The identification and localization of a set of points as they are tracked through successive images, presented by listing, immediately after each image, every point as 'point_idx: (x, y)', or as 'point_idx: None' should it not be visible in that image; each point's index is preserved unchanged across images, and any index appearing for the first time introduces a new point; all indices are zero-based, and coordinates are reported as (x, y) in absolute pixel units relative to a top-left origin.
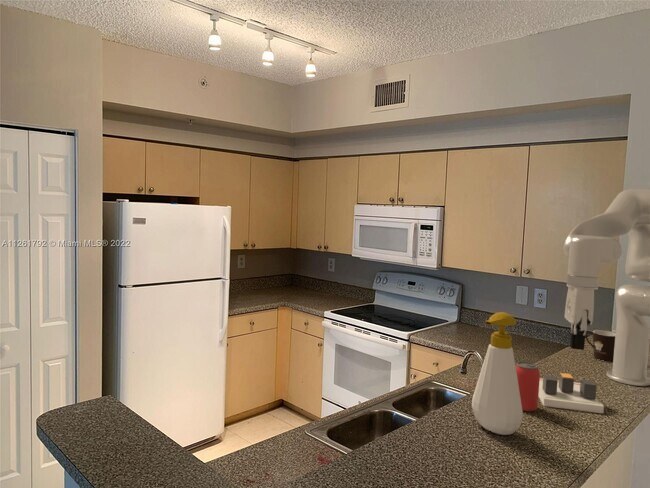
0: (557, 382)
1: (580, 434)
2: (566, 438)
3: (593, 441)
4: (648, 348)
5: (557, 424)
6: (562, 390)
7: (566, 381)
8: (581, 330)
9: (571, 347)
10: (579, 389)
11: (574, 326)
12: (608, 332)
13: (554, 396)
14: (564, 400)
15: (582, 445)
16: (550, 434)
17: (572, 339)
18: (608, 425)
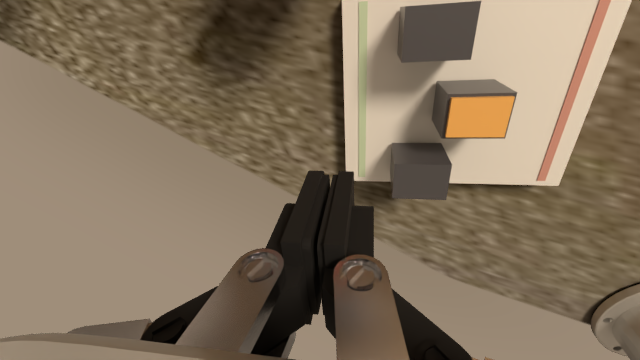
0: (564, 87)
1: (176, 76)
2: (127, 32)
3: (155, 99)
4: None
5: (206, 22)
6: (436, 84)
7: (442, 106)
8: (75, 330)
9: (308, 172)
10: (486, 152)
11: (225, 333)
12: None
13: (383, 43)
14: (352, 74)
15: (115, 66)
16: None
17: (293, 211)
18: (272, 159)
